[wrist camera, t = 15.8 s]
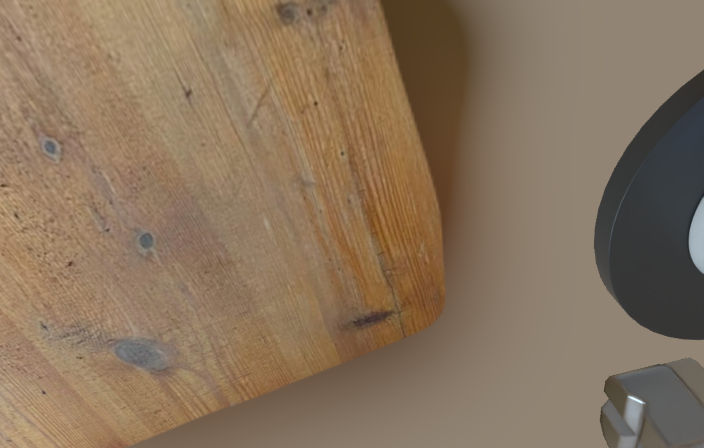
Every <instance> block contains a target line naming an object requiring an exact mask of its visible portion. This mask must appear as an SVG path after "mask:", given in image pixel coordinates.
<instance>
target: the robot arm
mask: <svg viewBox="0 0 704 448" xmlns="http://www.w3.org/2000/svg"><path fill="white" fill-rule="evenodd" d="M689 251H690V255H691V258H692V260H693V262H694V264H695V266H696V267H697V268H698V269H699V270H700V271H701V272H702V273H703V274H704V197H703V198H702V200H701V202H700V204H699V206H698V208H697V210H696V212H695V214H694V217H693V220H692V223H691V227H690V232H689ZM604 392H605V393H606V395H607V396H608V398H609V400H608V401H607V402H606V403H605V404H604V405H603V406H602V407H601V415H600V423H601V427H602V432H603V436H604V438H605V440H606V442H607V445H608V447H609V448H704V368H703V367H702V366H701V365H700V364H699V363H698V362H697V361H695V360H693V359H691V358H686V359H681V360H677V361H673V362H669V363H665V364H661V365H660V364H657V365H653V366H649V367H645V368H641V369H637V370H633V371H629V372H625V373H621V374H617V375H612V376H609V378H608V379H607V380H606V381H605V387H604Z"/></svg>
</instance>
